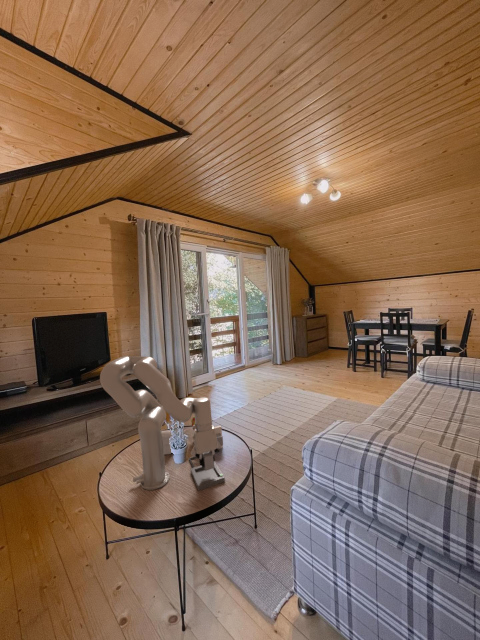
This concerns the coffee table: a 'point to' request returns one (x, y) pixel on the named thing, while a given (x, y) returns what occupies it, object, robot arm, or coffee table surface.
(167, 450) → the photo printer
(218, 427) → the plate
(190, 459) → the dark piece
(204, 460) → the grey rectangular block
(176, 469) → the coffee table surface
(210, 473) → the charging cradle
